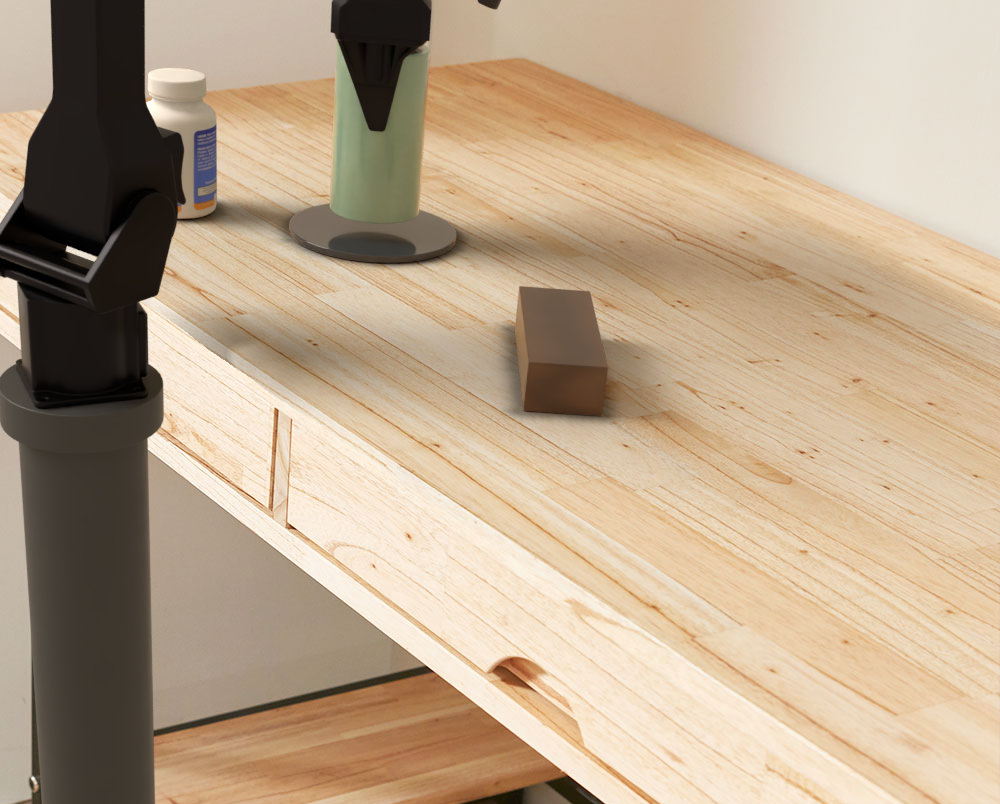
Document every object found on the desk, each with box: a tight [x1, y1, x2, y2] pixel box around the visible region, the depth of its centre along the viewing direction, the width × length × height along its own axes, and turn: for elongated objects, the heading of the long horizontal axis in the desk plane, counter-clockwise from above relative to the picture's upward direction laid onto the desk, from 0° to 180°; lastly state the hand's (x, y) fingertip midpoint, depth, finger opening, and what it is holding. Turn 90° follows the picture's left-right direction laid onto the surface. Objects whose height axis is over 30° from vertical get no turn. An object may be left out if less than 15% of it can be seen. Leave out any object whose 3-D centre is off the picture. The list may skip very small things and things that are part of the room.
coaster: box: [288, 203, 457, 264], centre depth 111 cm, size 12×12×1 cm
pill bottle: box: [146, 67, 218, 220], centre depth 110 cm, size 5×5×10 cm
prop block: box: [514, 285, 609, 417], centre depth 91 cm, size 4×12×3 cm, turn 2°
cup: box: [329, 40, 431, 224], centre depth 107 cm, size 13×6×13 cm
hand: (378, 118), depth 107 cm, fingers closed on cup, 6 cm apart
